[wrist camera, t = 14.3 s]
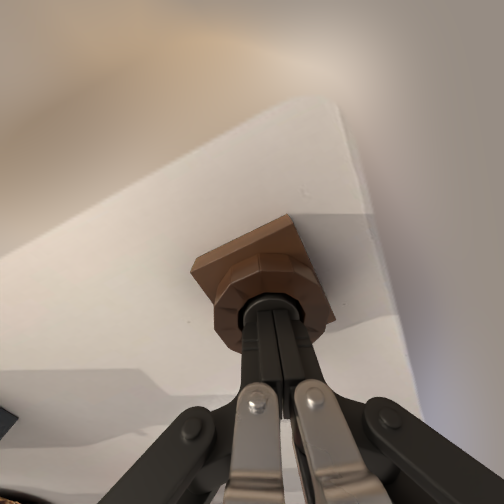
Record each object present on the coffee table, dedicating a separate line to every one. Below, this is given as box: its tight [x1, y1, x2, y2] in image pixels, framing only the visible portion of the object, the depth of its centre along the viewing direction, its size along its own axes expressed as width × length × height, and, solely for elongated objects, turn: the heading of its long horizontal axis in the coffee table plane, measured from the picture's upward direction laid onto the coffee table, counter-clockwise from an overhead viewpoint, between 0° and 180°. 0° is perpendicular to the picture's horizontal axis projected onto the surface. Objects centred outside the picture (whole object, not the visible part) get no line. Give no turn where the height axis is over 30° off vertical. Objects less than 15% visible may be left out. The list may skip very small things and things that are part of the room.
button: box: [243, 292, 300, 327], centre depth 12 cm, size 3×3×2 cm
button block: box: [190, 214, 336, 354], centre depth 13 cm, size 7×6×4 cm
